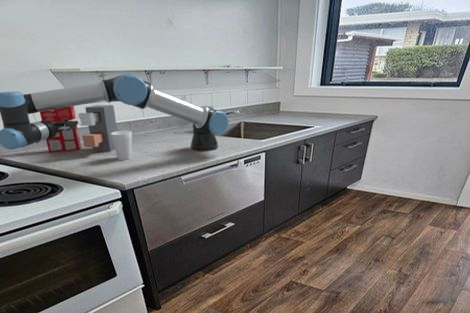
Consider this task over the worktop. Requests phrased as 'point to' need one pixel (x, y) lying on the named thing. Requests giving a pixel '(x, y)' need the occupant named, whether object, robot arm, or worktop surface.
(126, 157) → the foam cup
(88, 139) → the terracotta plug
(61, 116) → the food packaging
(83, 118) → the grey plug
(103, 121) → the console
